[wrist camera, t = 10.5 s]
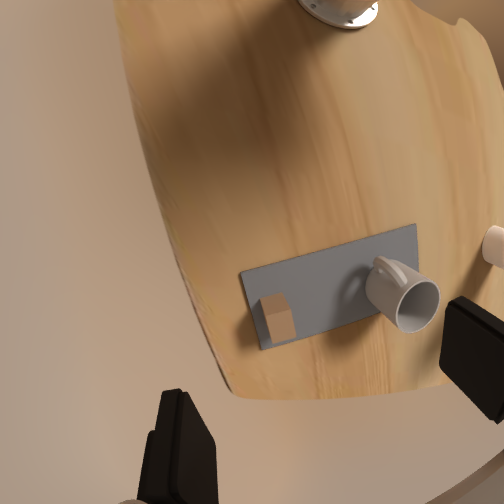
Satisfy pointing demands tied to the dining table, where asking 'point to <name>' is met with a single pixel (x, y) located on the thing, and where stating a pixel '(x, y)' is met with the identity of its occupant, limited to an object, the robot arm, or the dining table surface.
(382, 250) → the strip
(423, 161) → the dining table surface
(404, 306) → the cup
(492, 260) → the cylindrical container
